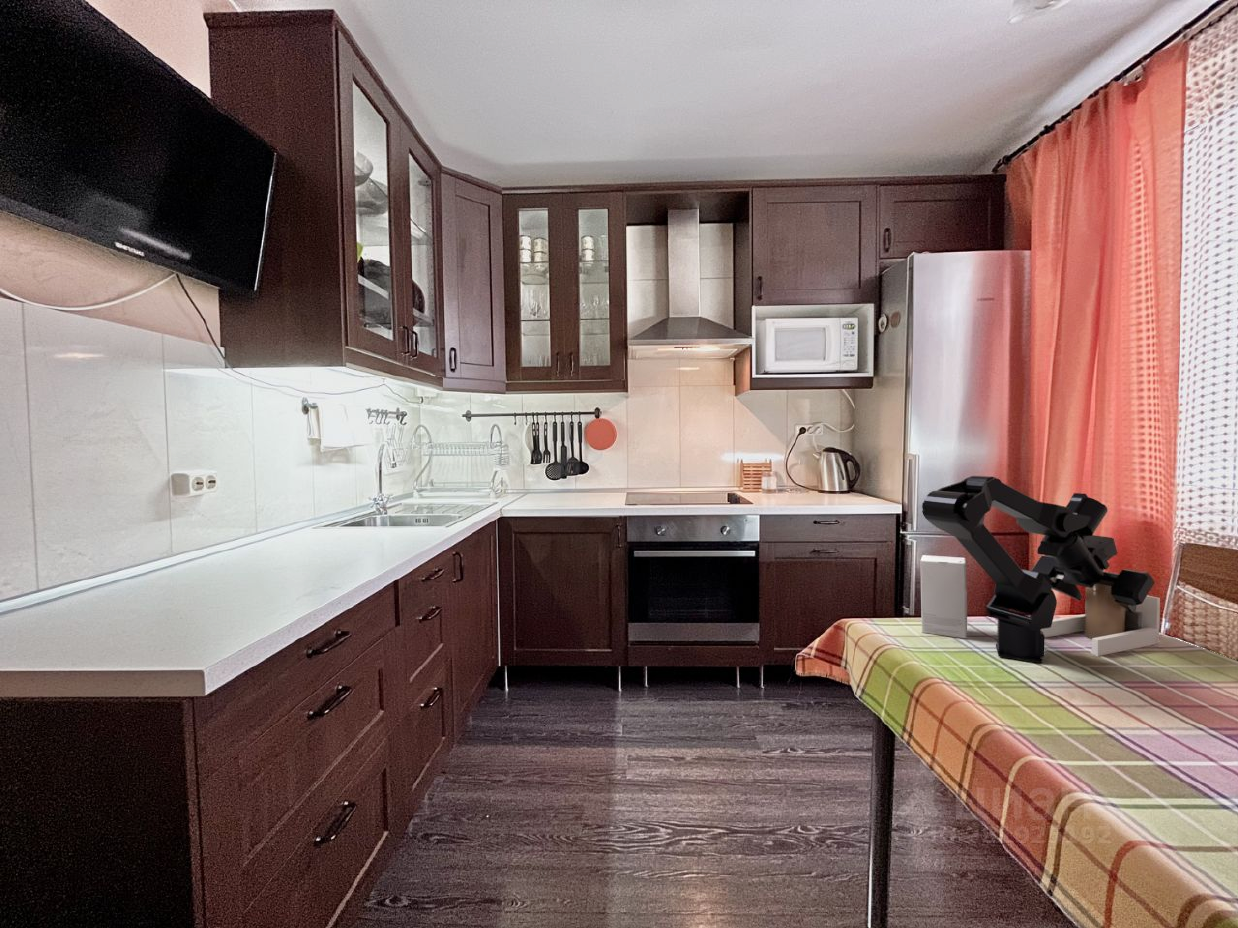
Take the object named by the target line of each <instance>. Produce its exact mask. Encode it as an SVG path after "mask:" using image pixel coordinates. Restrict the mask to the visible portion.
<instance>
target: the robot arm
mask: <svg viewBox="0 0 1238 928" xmlns="http://www.w3.org/2000/svg"><path fill="white" fill-rule="evenodd" d="M992 507H993V508H995V509H996V510H999V511H1001V512H1003V513H1005V514H1006V515H1009V516H1011V517H1013V518H1014V519H1015V520H1016V525H1017V526H1019V527H1020V528H1021V529H1023V530H1024V531H1025V532H1027V533H1029V534H1033V535H1042V536H1043V537H1042V538H1041V540H1040V542H1039V543H1040V545H1038V547H1037V551H1036V552H1037V555H1040V557H1039V558H1038V560H1037V561H1036V562H1035V564H1034V565H1033V567H1032V569H1031V570H1028V569H1023V568H1020V566H1019V565H1018V563H1017V562H1016V561H1015V560H1014V559H1013V558H1012V557H1011V555H1010V554H1009V553H1008V552H1007V551H1006V549H1005V548H1004V547H1003V546H1002V545H1001V543H1000V542H999V541H998V540H997V538H995V536H994V535H993V534H992V533H991V531H990V530H989V529H988V528H987V526H986V525H985V523H984V521H985V517H986V516H985V515H986V514H987V513H988V512H990V511H991V509H992ZM921 508H922V515H923V517H924V518H925V520H927V522H928V523H930V524H932V525H933V526H935V527H936V528H937V529H939V530H940V531H942V532H945V533H947V534H949V535H951V536H953V537H955V538H956V539H957V541H958V542H959V543H960V544H961V545H962V546H963V548H964V549H965V550H966V551H967V552H968V553H969V555H971V557H972V558H973V559H974V561H975V562H977V564H978V565H979V566H980V567H981V568H982V569H983V570H984V572H985V573H986V574H987V575H988V576H989V578H990V579H991V580H992V581H993V582H994V583H995V584H994V589H993V593H994V595H993V596H992V598H991V599H990V601H989V602H988V604H987V605H986V607H985V609H986V612H987V616H988V617H989V618H991V619H993V618H994V619H996V620H997V629H996V630H997V637H996V638H997V639H996V641H997V642H996V644H995V648H996V651H997V656H998V657H1000V658H1005V659H1013V660H1018V661H1026V662H1030V663H1031V662H1032V663H1038V664H1039V663H1040V664H1042V663H1043V658H1044V657H1045V639H1046V638H1045V636H1044V634H1043V632H1042V631H1041V629H1045V628H1050V627H1051V625H1052V621H1053V619H1054V616H1055V613H1056V609H1057V604H1058V601H1057V598H1056V597H1057V596H1056V594H1055V592H1059V593H1061V594H1064V595H1065V596H1068V597H1069V598H1071V599H1074V600H1076V601H1081V600H1082V599H1083V595H1082V593H1081V591H1080V589H1079V588H1078V586H1080V587H1083V588H1086V587H1089V588H1092V587H1093V586H1094V584H1097V583H1098V584H1103V585H1108V586H1112V587H1111V595H1112V596H1113V598H1115V602H1116V603H1118V604H1119V605H1121V606H1122V607H1123V608H1125V609H1126V610H1128V611H1129V612H1131V613H1134V612H1135V611H1136V605H1139V604H1142V603H1143V601H1144V600H1145V598H1146V596H1147V595H1148V596H1149V593H1150V592H1151V590H1152V588H1153V586H1154V585H1155V581H1154V579H1153V577H1152V576H1151V575H1150V573H1149V572H1145V571H1138V570H1133V569H1127V568H1126V569H1121V571H1120V573H1117V574H1119V575H1117V574H1111V573H1112V572H1111V573H1106V572H1107V571H1104V570H1108V568H1109V567H1110V565H1111V564H1110V563H1109V560H1111V559H1112V558H1113V557H1114V556H1117V555H1118V549H1117V546H1116V543H1115V538H1113V537H1108V536H1103V535H1102V536H1100V535H1096V534H1095V535H1094V533H1095V532H1096V530H1097V528H1098V527H1099V526H1100V525H1101V524H1100V523H1102V520H1103V519H1104V518H1105V516H1106V515H1107V513H1108V507H1107V506H1106V505H1105V504H1104V503H1102V502H1100V501H1098V500H1097V499H1094V498H1091V497H1089V496H1088V495H1087V494H1086V493H1079V492H1074V493H1073V494H1072V496H1071V497H1070V500H1069V502H1068V503H1067V504H1066V506H1064V505H1059V504H1055V503H1048V502H1043V501H1038V500H1036V499H1034V498H1033V497H1031V496H1028V495H1027V494H1026V493H1023V492H1021V491H1019V490H1017V489H1015V488H1013V486H1012V487H1011V486H1010V485H1008V484H1007V483H1006V484H1005V483H1004V482H1002V480H1001V479H1000V478H997V477H995V476H986V475H972V476H971V475H970V476H968V477H966V478H964V479H962V480H961V481H959V482H956V483H952V484H950V485H946V486H944V487H941V488H939V489H937V490H933V491H930V492H929V493H928V494H927V495H926V496H925V498H924V499H923V501H922V505H921ZM1054 591H1055V592H1054ZM1011 610H1012V611H1011ZM1026 614H1027V615H1026ZM1029 615H1030V616H1029Z"/></svg>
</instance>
